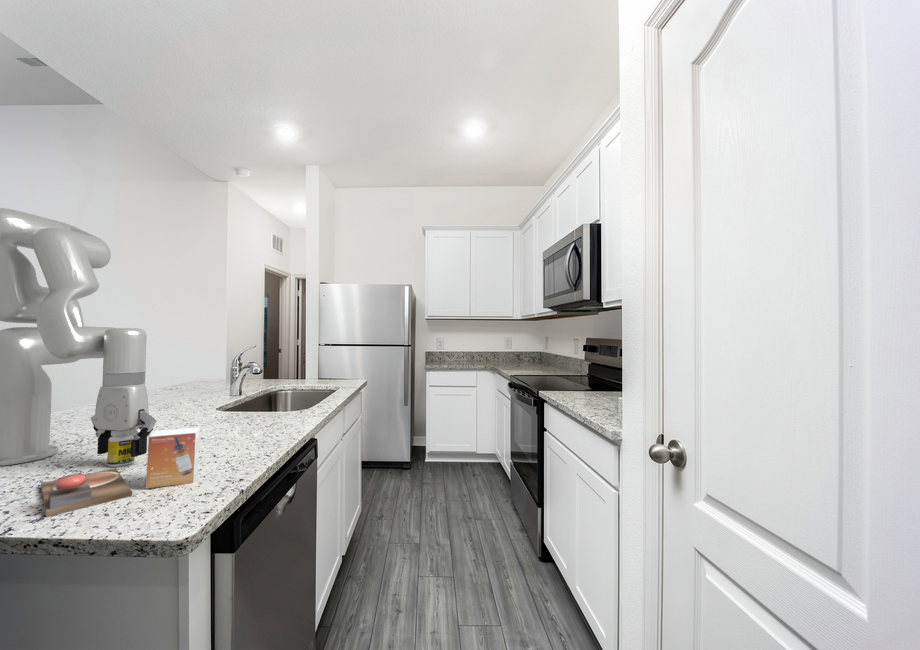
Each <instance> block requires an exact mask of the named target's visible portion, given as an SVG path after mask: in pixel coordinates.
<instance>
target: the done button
mask: <svg viewBox="0 0 920 650" xmlns="http://www.w3.org/2000/svg"><path fill="white" fill-rule="evenodd" d="M85 474H86V473H73V474H68V475H64V476H61V477H59V478H57V479H55V480H56V489H58V490H63V489H70V488H74V487H78V486H81V485H83V484H84V483H85Z"/></svg>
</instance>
